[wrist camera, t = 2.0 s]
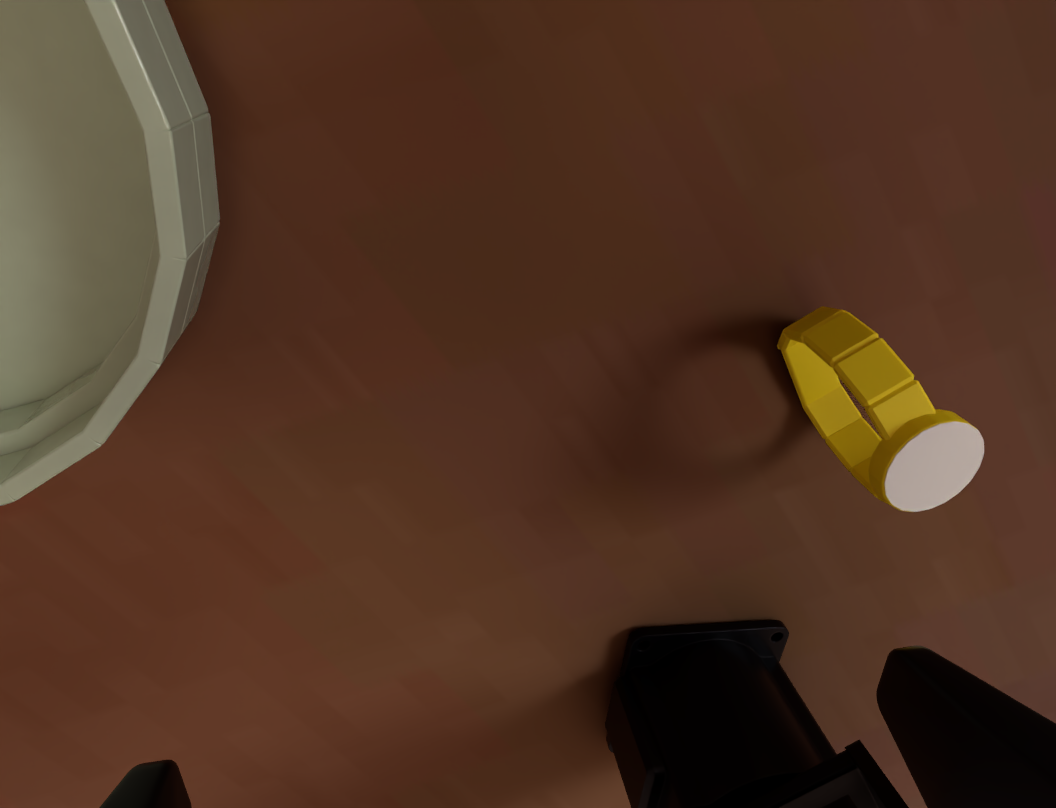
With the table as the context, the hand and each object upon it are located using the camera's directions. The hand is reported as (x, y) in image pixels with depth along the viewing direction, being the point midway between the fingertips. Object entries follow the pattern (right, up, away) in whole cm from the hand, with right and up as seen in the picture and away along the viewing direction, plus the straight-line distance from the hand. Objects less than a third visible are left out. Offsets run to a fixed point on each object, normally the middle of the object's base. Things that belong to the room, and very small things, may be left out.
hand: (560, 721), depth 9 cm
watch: (+9, +5, +14) cm, 17 cm away
